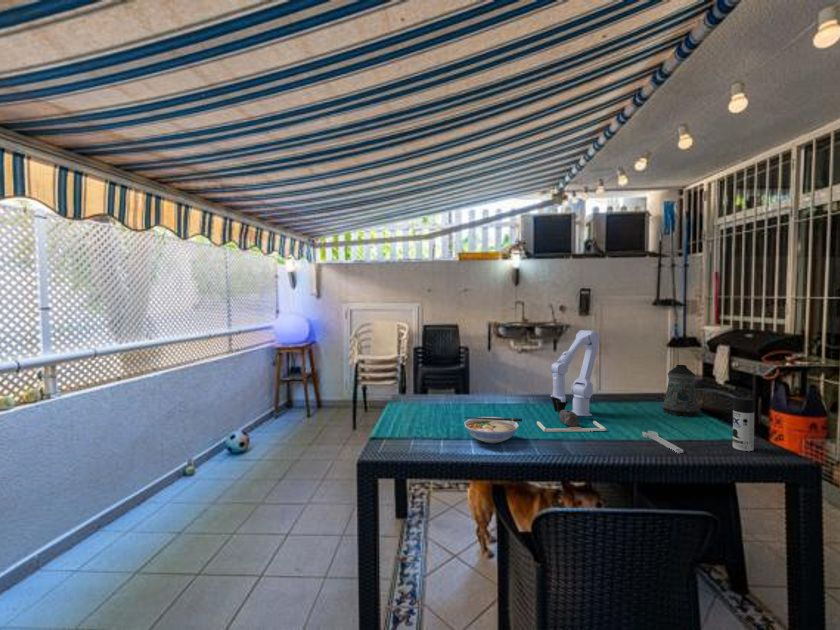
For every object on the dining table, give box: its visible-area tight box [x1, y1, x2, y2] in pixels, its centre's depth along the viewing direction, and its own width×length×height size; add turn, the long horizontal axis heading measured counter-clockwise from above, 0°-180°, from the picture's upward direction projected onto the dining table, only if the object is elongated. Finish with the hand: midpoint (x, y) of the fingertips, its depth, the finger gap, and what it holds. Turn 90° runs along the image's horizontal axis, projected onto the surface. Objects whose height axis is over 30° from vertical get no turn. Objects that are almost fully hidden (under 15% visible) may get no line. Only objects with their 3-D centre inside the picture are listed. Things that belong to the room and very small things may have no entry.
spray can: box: [732, 396, 755, 453], centre depth 165 cm, size 7×7×20 cm
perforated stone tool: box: [558, 408, 579, 427], centre depth 202 cm, size 15×5×7 cm, turn 4°
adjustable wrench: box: [641, 430, 684, 454], centre depth 174 cm, size 25×6×2 cm, turn 175°
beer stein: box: [662, 364, 701, 418], centre depth 221 cm, size 16×19×25 cm
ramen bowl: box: [464, 416, 523, 445], centre depth 178 cm, size 25×23×8 cm
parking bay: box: [536, 420, 608, 433], centre depth 197 cm, size 13×28×2 cm, turn 89°
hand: (559, 413), depth 214 cm, fingers open, 6 cm apart
